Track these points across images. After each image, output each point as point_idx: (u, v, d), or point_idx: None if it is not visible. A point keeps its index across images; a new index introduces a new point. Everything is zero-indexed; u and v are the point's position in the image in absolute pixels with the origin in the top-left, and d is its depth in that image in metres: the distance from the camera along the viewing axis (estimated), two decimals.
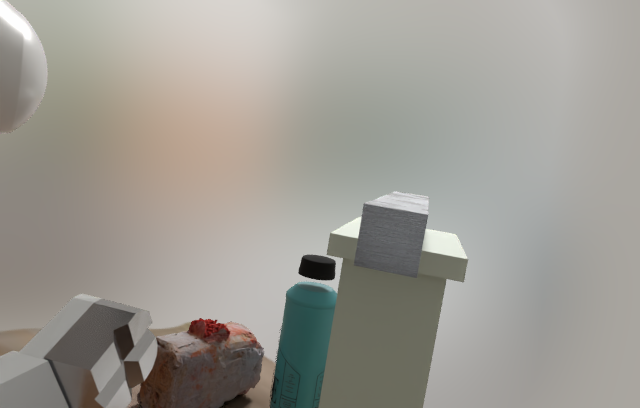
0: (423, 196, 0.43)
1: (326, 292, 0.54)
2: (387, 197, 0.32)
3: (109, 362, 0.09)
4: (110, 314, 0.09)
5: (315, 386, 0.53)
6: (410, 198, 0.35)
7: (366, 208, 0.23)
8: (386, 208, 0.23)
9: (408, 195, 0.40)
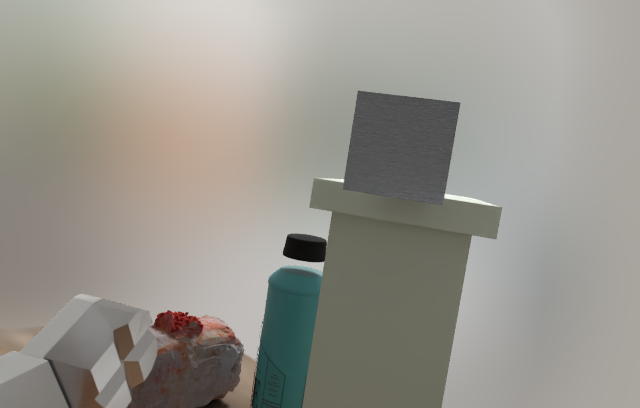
0: None
1: (316, 276, 0.45)
2: None
3: (109, 362, 0.09)
4: (110, 314, 0.09)
5: (303, 389, 0.45)
6: None
7: (362, 98, 0.15)
8: (393, 96, 0.14)
9: None
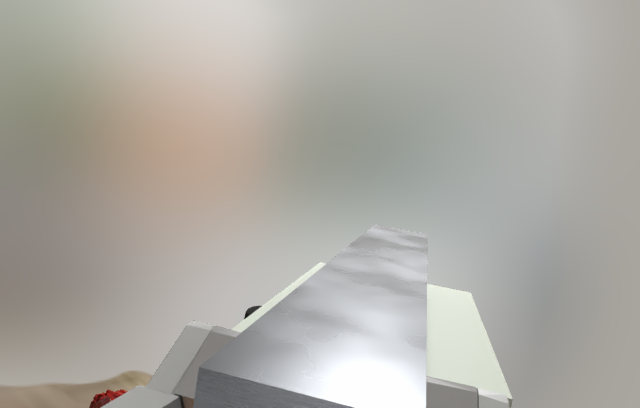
0: (419, 234, 0.26)
1: None
2: (341, 262, 0.15)
3: None
4: None
5: None
6: (393, 252, 0.19)
7: (207, 384, 0.06)
8: (275, 390, 0.06)
9: (393, 237, 0.23)
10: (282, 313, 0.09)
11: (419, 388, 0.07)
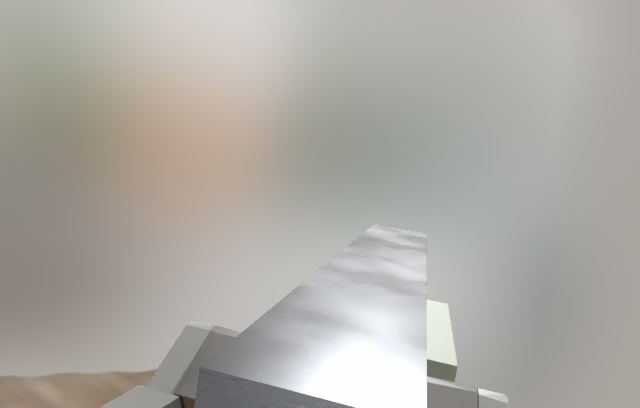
0: (418, 234, 0.26)
1: None
2: (341, 262, 0.15)
3: None
4: None
5: None
6: (392, 252, 0.19)
7: (208, 384, 0.06)
8: (276, 390, 0.06)
9: (392, 237, 0.23)
10: (282, 313, 0.09)
11: (420, 388, 0.07)
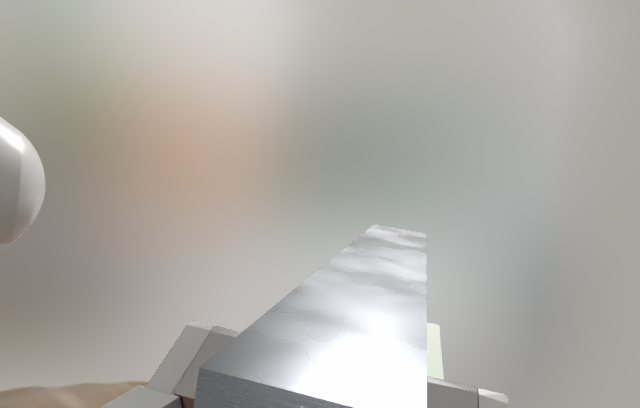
0: (418, 234, 0.26)
1: None
2: (341, 262, 0.15)
3: None
4: None
5: None
6: (392, 252, 0.19)
7: (208, 385, 0.06)
8: (275, 390, 0.06)
9: (392, 237, 0.23)
10: (282, 313, 0.09)
11: (420, 388, 0.07)
